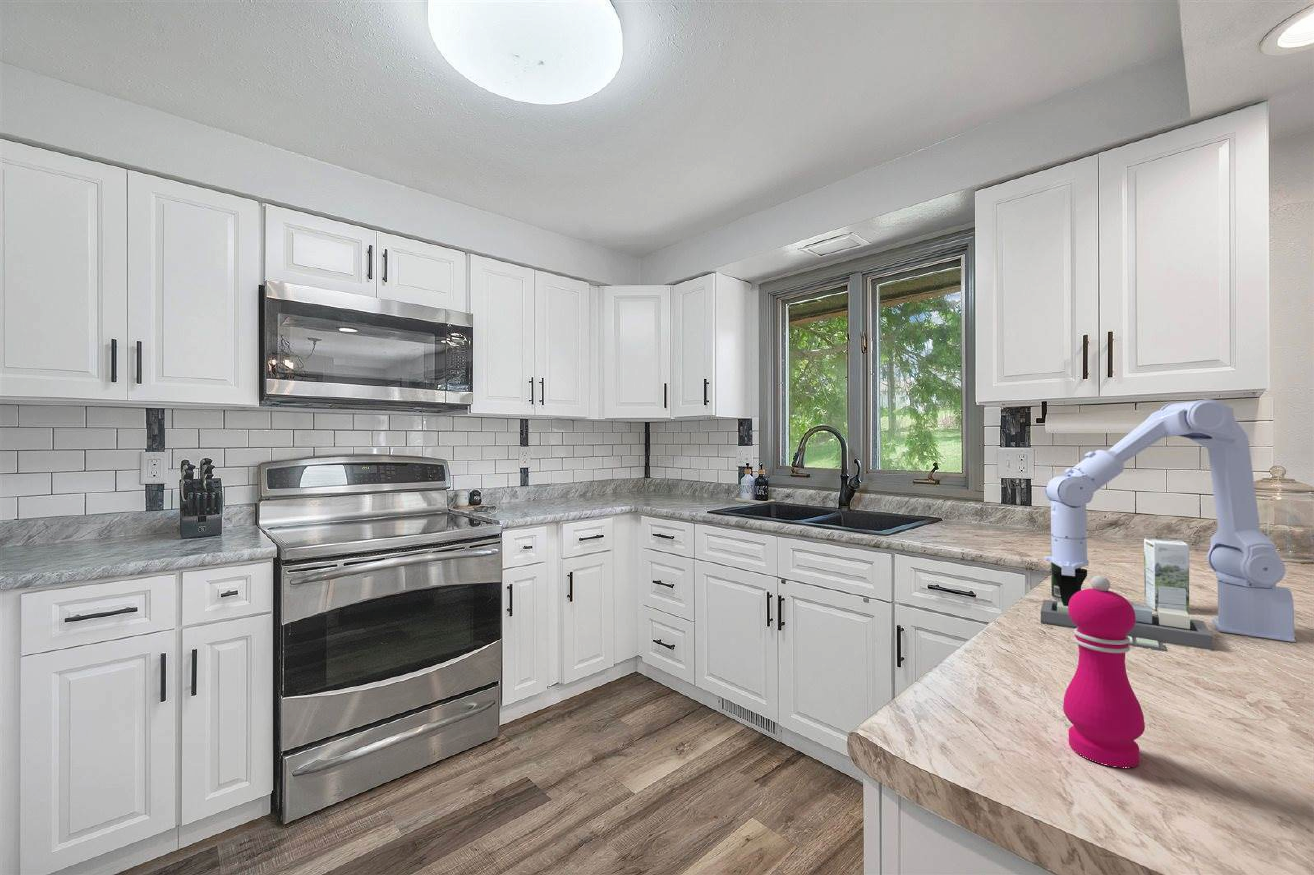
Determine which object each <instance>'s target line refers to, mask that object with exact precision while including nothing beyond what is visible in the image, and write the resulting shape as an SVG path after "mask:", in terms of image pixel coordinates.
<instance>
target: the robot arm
mask: <svg viewBox="0 0 1314 875" xmlns="http://www.w3.org/2000/svg"><path fill="white" fill-rule="evenodd" d="M1175 436H1177V437H1181V438H1187V439H1189V440H1191V441H1192V442H1193V441H1194V442H1195V443H1197V444H1198V445H1200V446H1202V447H1204V448H1206V449H1207V452H1208V460H1209V469H1210V476H1211V482H1212V484H1211V485H1212V490H1213V491H1212V492H1213V499H1214V507H1215V515H1216V522H1217V523H1216V524H1217V531H1216V532H1215V533H1214V534H1212V536H1211V537H1210V538H1209V540H1210V548H1209V550H1208V552H1207V556H1206V560H1207V561H1206V562H1207V564H1208V566H1209V568H1210V569H1211V570H1212V571H1213V572H1215V578H1216V579H1217V584H1216V585H1217V586H1216V587H1217V616H1218V617H1217V619H1216V618H1212V619H1211V620H1212V623H1213V624H1214V626H1215V627H1216V628H1217V630H1218V631H1219V632H1222V633H1227V634H1235V635H1236V634H1237V635H1242V636H1249V637H1254V638H1255V637H1257V638H1261V639H1270V640H1277V641H1283V642H1292V643H1296V642H1297V641H1296V639H1295V607H1294V606H1295V605H1294V604H1295V603H1294V599H1293V598H1294V597H1293V594H1292V591H1291V589H1289V588H1288V587H1282V586H1277V584H1279V583H1280V582H1282V580H1283V579H1284V577H1285V575H1286V565H1285V563H1284V561H1283V560H1282V558H1281V557H1280V555H1279V553H1278V552H1277V545H1276V544H1275V543H1274V542H1273V541H1272V540H1271V539H1270V538H1269V537H1267V535H1265V534H1264V533H1263V532H1262V531H1261V526H1260V525H1261V524H1260V519H1259V518H1260V517H1259V510H1258V501H1257V495H1256V488H1255V479H1254V472H1253V465H1252V457H1251V450H1250V449H1251V448H1250V442H1249V436H1248V434H1247V433H1246V431H1245V430H1244V429H1243V427H1242V426H1241V425H1240V423H1239V422H1238V421H1237V420H1236V418H1235V414H1234V408H1232V407H1231V406H1228V405H1226V404H1225V403H1222V402H1220V401H1218V400H1216V399H1212V398H1204V399H1200V400H1194V401H1186V402H1185V401H1184V402H1170V403H1167V404H1165V405H1163V406H1162V407H1161V408H1160V409H1159V410H1156V411H1155V412H1152V413H1150V415H1149V416H1148V417H1147V418H1146V419H1145V420H1144V421H1143V422H1142V423H1140V424H1139V425H1137V427H1135V428H1134V429H1132V430H1131V431H1130V432H1129V433H1127V434H1126V435H1125V436H1124V437H1123V438H1121V440H1119V441H1118V442H1117V443H1116V444H1114V445H1113V446H1112V447H1110V448H1109V449H1108V450H1106V449H1097V450H1094V451H1088V452H1087V453H1085V454H1084V457H1085V458H1084V459H1082V460H1081V461H1080V462H1078V463H1077V464H1076V465H1075V466H1073V467H1072V468H1070V467H1069V468H1066V469H1064V470H1063V471H1064V475H1060V476H1059V475H1058V476H1055V477H1053V478H1051V479H1050V480H1049V481H1048V483H1047V485H1046V488H1044V489H1043V490H1044V491H1043V492H1044V495H1045V497H1046V498H1047V499H1048V500H1049V502H1050V541H1051V542H1050V555H1046V556H1044V558H1043V560H1044V561H1045V562H1050V563H1051V562H1052V563H1054V564H1056V565H1058V566H1059V567H1061V568H1059V567H1053V568H1052V574H1053V575H1054V577H1055V579H1056V581H1057V584H1058V586H1059V590H1060V595H1061V600H1062V603H1063V606H1068V604H1069V601H1070V598H1071V597H1072V596H1073V595H1074V594H1075V593H1076V592H1078V591H1080V589H1081V590H1082V586H1083V584H1084V581H1085V580H1086V578H1087V577H1088V570H1087V569H1086V568H1084V567H1088V566H1089V560H1088V533H1087V532H1088V530H1087V529H1088V527H1087V525H1088V524H1087V523H1088V522H1087V520H1088V519H1087V517H1088V516H1087V504H1089V503H1091V501H1092V500H1093V498H1094V494H1095V492H1097V491H1098V490H1099V489H1101V488H1102V487H1104V486H1106V484H1108V483H1109V482H1111V481H1112V480H1114V479H1115V478H1116V477H1118V476H1119V475H1121V474H1122V473H1123V472H1124V469H1125V468H1124V467H1125V466H1124V465H1125V462H1127V461H1128V460H1130V459H1132V458H1133V457H1135V456H1136V455H1138V454H1139V453H1140V452H1141V453H1142V452H1143V451H1144V450H1146V449H1148V447H1151V446H1152V445H1154V444H1155V443H1157V442H1158V441H1160V440H1161V439H1163V438H1169V437H1170V438H1171V437H1175ZM1080 568H1081V569H1080Z"/></svg>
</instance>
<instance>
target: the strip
mask: <svg viewBox="0 0 1314 875" xmlns="http://www.w3.org/2000/svg"><path fill="white" fill-rule="evenodd" d="M1128 637H1129V639H1130V642H1129V646H1132V647H1136V648H1144V649H1149V648H1150V649H1149V650H1156V651H1161V652H1165V651H1166V650H1165V649H1166V648H1165V645H1164V643H1163V642H1158V641H1156V640H1149V639H1143V638H1137V637H1136V638H1132V637H1130V636H1128Z"/></svg>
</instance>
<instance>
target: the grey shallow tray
mask: <svg viewBox="0 0 1314 875" xmlns="http://www.w3.org/2000/svg"><path fill="white" fill-rule="evenodd" d="M1058 602H1060V601H1057V600H1050V599H1043V600H1042V603H1041V609H1040V624H1044V625H1050V626H1056V627H1062V628H1063V627H1064V628H1069V629H1075V628H1078V627H1077V625H1076V624H1075V623H1074V622H1073V621H1072V620H1071V618H1070V616H1069V614H1068V613H1066V612H1059V611H1057V603H1058ZM1126 636H1130V637H1132V638H1136V637H1137V638H1143V639H1149V640H1156V641H1158V642H1161V643H1163V644H1171V645H1177V646H1183V647H1189V648H1197V649H1203V650H1207V651H1208V650H1209V651H1214V635H1213V634H1212V632H1211V631H1210V629H1209V628H1208V627H1207V625H1206V623H1205V621H1203V620H1197V619H1191V618H1190V629H1186V628H1179V627H1172V626H1165V625H1159V622H1158V620H1157V614H1153V613H1152V624H1151V623H1144V622H1137V621H1135V625H1134V627H1133V628H1132V630H1130V631H1129V632H1128V633H1127V634H1126Z"/></svg>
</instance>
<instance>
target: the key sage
mask: <svg viewBox="0 0 1314 875" xmlns="http://www.w3.org/2000/svg"><path fill="white" fill-rule="evenodd" d="M1057 611H1059V612H1066V613H1068V606H1063V603H1062V602H1061V601H1059V602H1058V603H1057Z"/></svg>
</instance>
